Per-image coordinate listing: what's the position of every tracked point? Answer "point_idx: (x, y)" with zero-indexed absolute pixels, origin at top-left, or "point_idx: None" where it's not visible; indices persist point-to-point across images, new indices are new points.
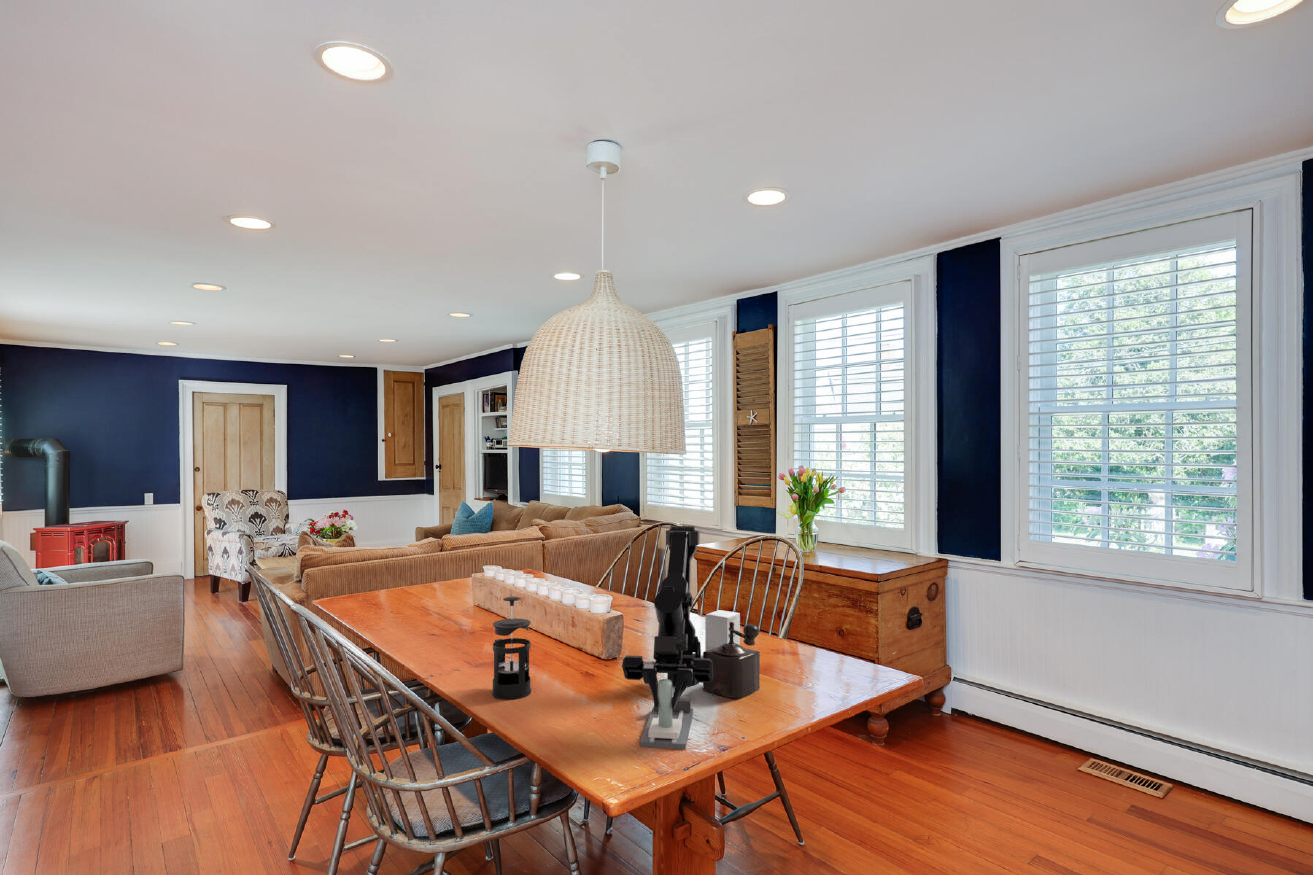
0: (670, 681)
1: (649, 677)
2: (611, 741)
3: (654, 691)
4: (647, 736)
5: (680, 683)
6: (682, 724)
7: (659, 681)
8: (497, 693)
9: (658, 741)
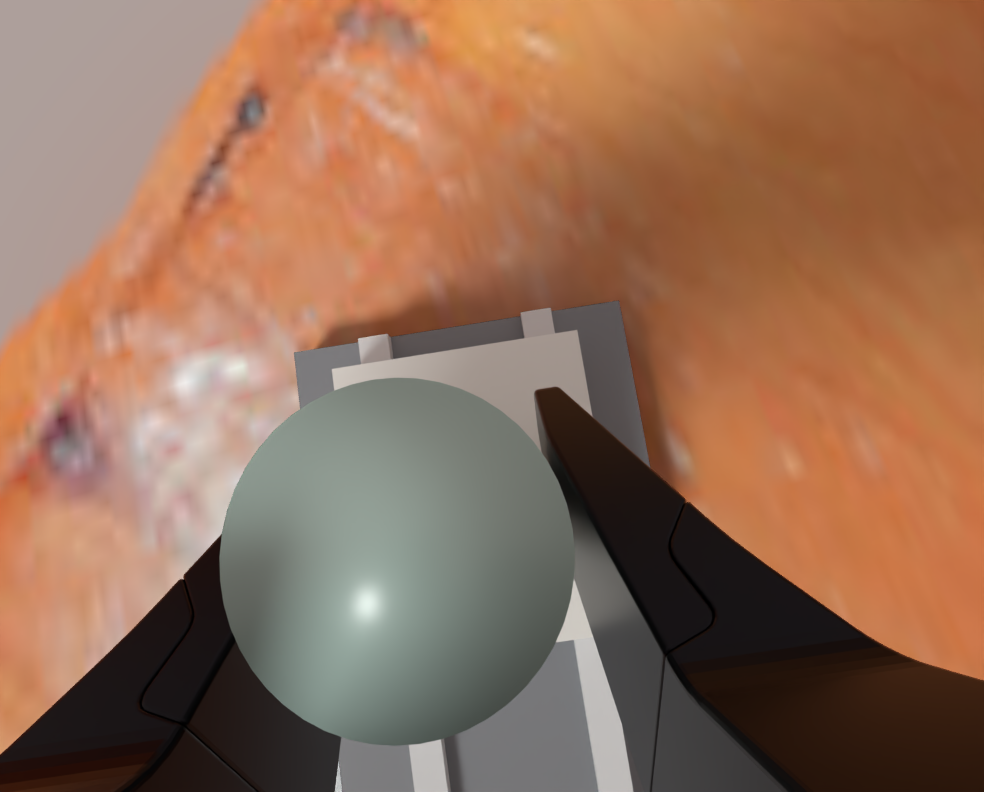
0: (269, 591)
1: (896, 668)
2: (836, 335)
3: (625, 491)
4: (596, 402)
5: (88, 700)
6: None
7: (542, 511)
8: None
9: (490, 337)
